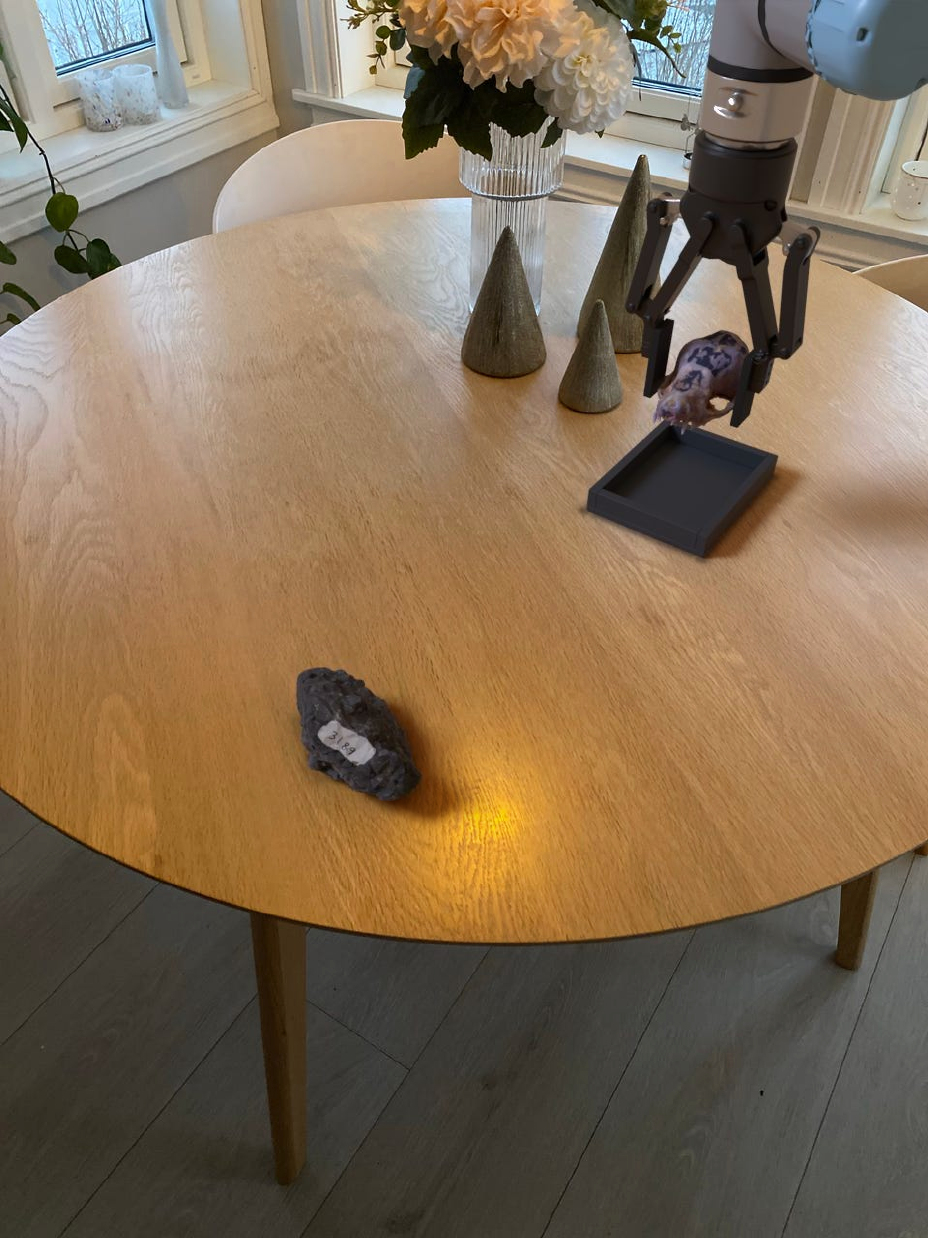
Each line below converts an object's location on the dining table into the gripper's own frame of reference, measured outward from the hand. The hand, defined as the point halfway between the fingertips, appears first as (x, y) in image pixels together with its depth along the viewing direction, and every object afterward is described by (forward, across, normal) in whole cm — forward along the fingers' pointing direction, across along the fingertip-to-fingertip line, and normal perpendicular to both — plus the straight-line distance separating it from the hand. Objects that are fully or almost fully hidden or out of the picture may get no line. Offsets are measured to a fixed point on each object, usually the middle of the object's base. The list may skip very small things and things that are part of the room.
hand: (695, 404), depth 86 cm
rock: (+14, -7, -40) cm, 43 cm away
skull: (0, 0, 0) cm, 0 cm away
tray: (+14, -2, +6) cm, 15 cm away
